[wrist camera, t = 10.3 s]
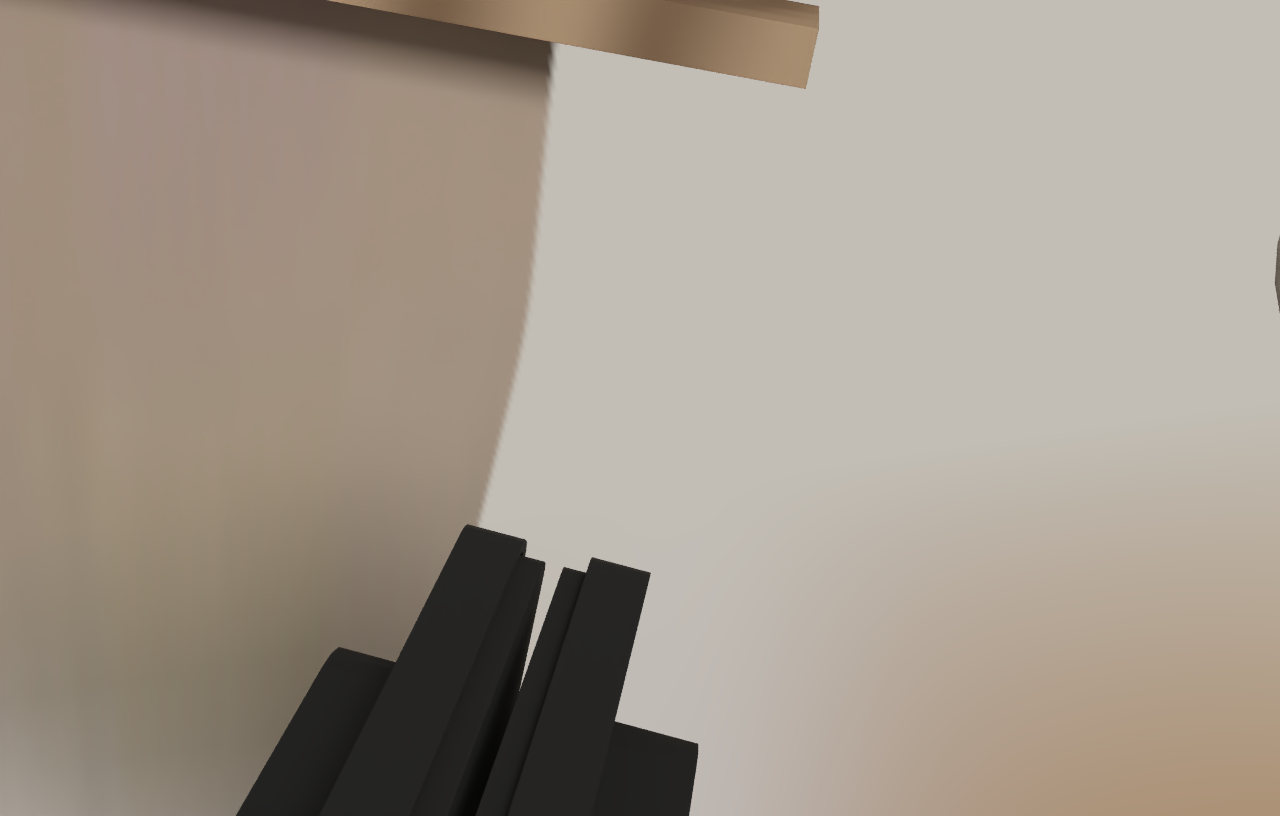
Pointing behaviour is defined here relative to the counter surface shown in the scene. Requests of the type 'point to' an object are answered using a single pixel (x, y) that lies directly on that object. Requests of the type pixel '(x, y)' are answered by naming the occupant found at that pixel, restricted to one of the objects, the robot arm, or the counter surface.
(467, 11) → the trap track
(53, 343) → the counter surface
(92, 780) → the counter surface
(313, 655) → the counter surface
